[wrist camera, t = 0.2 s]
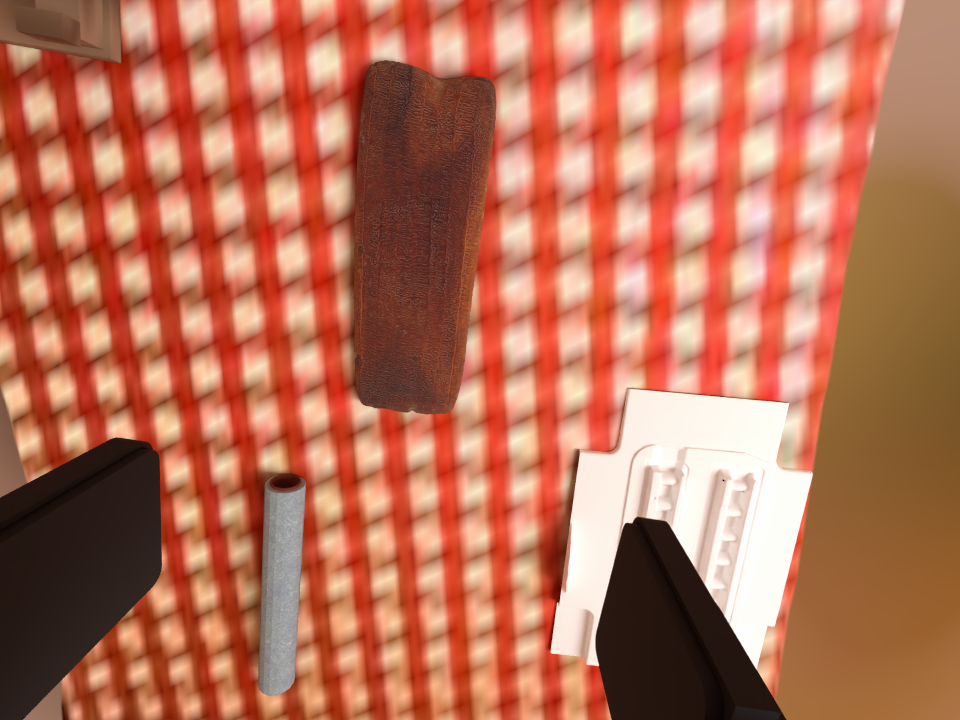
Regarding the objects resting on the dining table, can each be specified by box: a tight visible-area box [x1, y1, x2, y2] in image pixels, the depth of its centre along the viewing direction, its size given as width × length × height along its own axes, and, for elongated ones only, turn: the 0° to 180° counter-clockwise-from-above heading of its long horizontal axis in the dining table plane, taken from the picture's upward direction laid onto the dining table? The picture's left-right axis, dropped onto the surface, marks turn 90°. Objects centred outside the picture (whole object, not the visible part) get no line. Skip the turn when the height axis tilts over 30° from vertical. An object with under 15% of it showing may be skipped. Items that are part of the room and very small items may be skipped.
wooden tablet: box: [354, 61, 496, 414], centre depth 38 cm, size 27×10×2 cm, turn 173°
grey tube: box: [258, 474, 306, 696], centre depth 46 cm, size 23×7×3 cm, turn 172°
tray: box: [551, 389, 813, 669], centre depth 44 cm, size 20×28×4 cm
